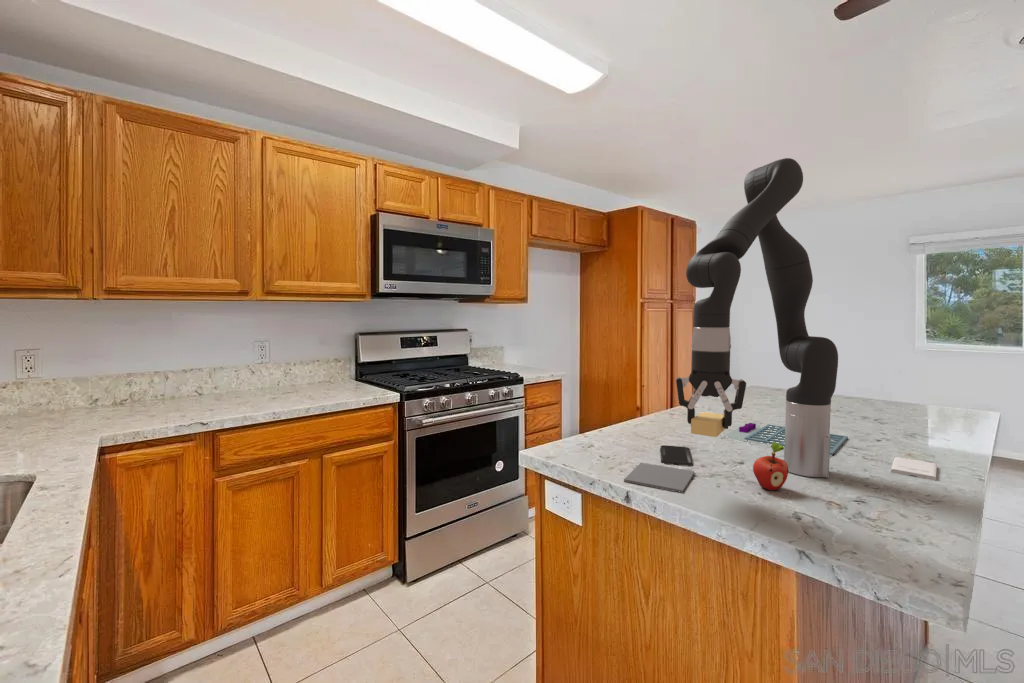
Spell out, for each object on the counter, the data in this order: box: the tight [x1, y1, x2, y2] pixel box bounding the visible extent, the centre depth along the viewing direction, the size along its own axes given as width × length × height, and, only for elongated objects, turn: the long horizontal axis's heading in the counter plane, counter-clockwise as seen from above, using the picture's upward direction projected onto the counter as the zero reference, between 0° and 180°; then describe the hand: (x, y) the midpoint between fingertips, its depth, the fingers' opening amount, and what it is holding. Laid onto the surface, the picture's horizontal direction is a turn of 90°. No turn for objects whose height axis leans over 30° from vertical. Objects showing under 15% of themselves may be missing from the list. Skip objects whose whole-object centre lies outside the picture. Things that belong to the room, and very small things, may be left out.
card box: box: [690, 411, 726, 438], centre depth 99 cm, size 5×9×3 cm, turn 144°
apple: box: [752, 442, 789, 491], centre depth 103 cm, size 8×7×10 cm
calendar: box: [722, 422, 848, 459], centre depth 144 cm, size 27×29×2 cm
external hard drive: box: [890, 456, 938, 481], centre depth 115 cm, size 2×8×12 cm
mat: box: [623, 462, 696, 493], centre depth 109 cm, size 13×14×1 cm
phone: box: [659, 444, 693, 466], centre depth 126 cm, size 8×1×15 cm
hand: (708, 426), depth 99 cm, fingers closed on card box, 6 cm apart
